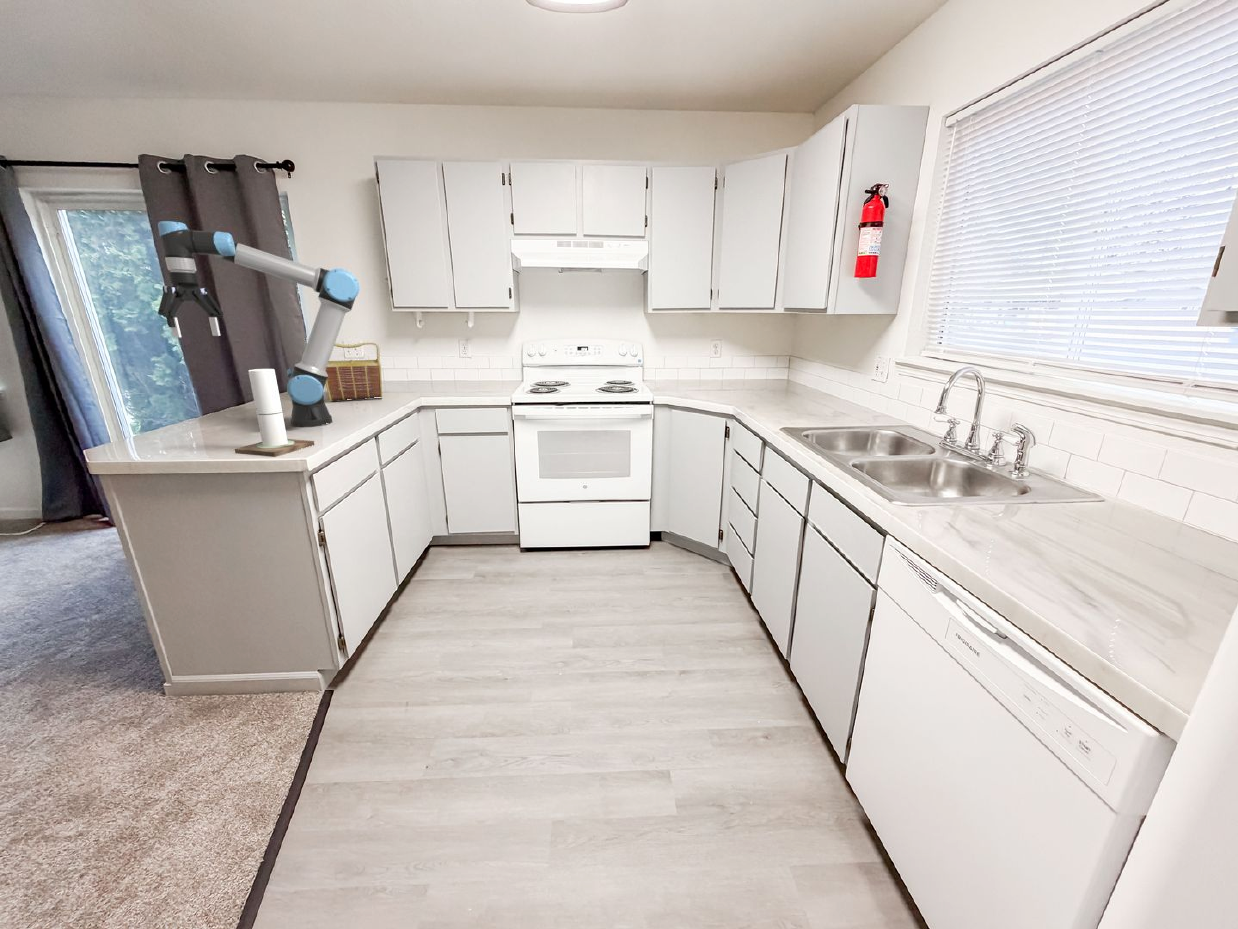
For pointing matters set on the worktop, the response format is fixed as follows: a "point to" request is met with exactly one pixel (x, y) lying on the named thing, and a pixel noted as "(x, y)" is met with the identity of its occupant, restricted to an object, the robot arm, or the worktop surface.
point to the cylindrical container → (268, 407)
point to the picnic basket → (354, 377)
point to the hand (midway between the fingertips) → (197, 336)
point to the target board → (274, 448)
